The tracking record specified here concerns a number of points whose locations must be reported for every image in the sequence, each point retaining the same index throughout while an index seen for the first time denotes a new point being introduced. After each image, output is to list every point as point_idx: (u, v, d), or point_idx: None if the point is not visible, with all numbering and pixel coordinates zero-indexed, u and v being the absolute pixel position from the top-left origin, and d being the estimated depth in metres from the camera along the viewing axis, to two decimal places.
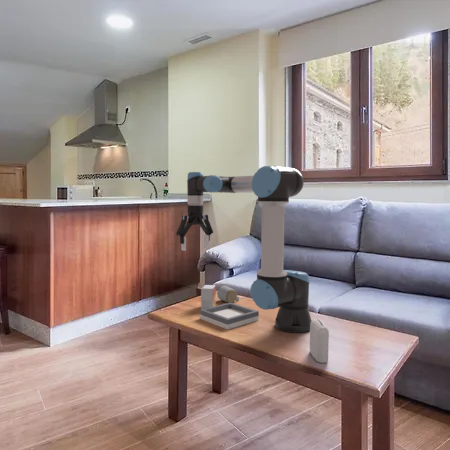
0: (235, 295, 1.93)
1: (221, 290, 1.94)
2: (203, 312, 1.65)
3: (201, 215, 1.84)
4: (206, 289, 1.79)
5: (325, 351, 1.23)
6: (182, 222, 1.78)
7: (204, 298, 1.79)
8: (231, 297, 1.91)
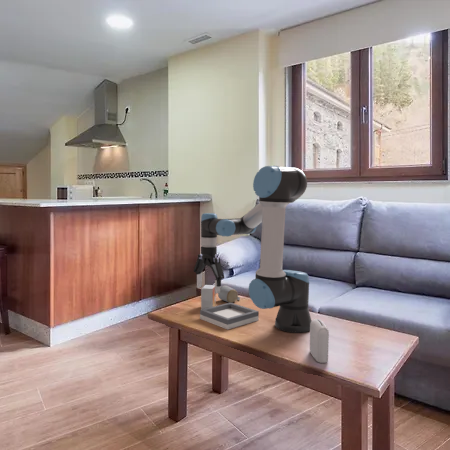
0: (236, 295, 1.93)
1: (222, 290, 1.94)
2: (203, 312, 1.65)
3: (210, 257, 1.78)
4: (206, 289, 1.79)
5: (325, 351, 1.23)
6: None
7: (204, 298, 1.79)
8: (232, 297, 1.92)
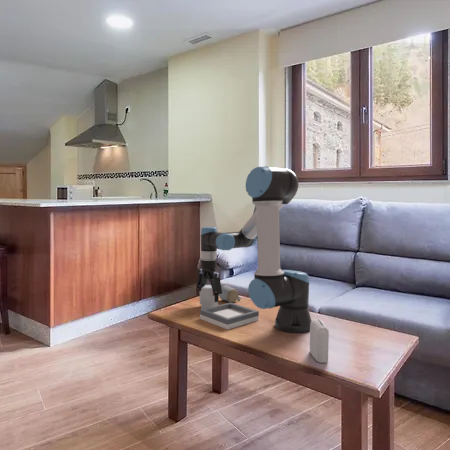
0: (236, 295, 1.93)
1: (222, 290, 1.94)
2: (203, 312, 1.65)
3: (211, 271, 1.79)
4: (206, 289, 1.79)
5: (325, 351, 1.23)
6: None
7: (204, 298, 1.79)
8: (233, 297, 1.92)
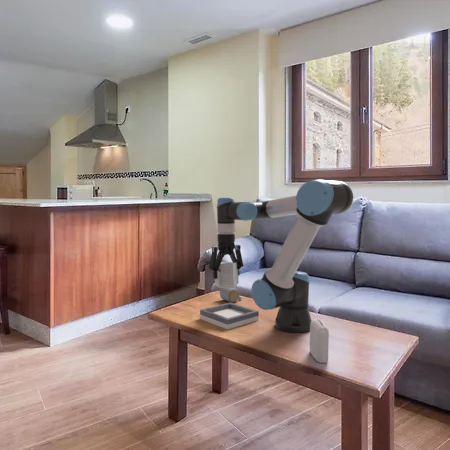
0: (237, 295, 1.94)
1: (224, 290, 1.95)
2: (203, 312, 1.65)
3: (233, 244, 1.67)
4: (234, 264, 1.66)
5: (325, 351, 1.23)
6: (213, 255, 1.63)
7: (234, 275, 1.65)
8: (234, 296, 1.92)
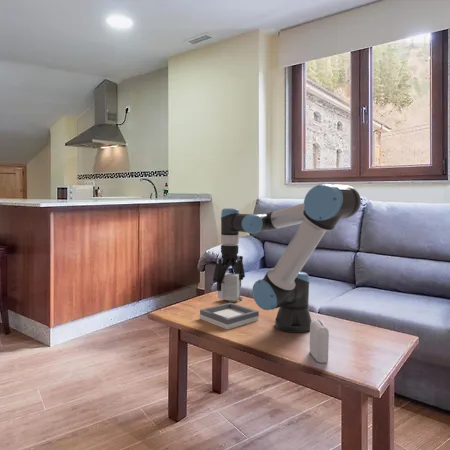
0: None
1: None
2: (203, 312, 1.65)
3: (236, 255, 1.66)
4: (237, 276, 1.64)
5: (325, 351, 1.23)
6: (217, 267, 1.60)
7: (237, 286, 1.63)
8: None
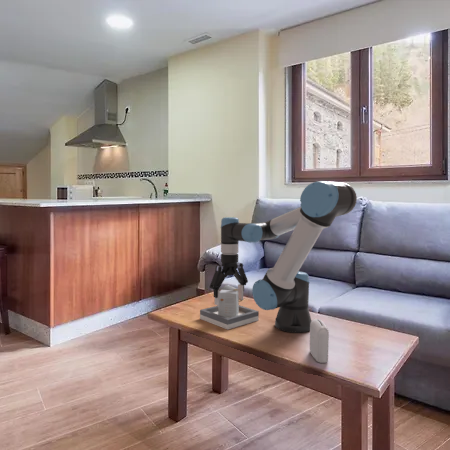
0: None
1: (225, 289, 1.95)
2: (203, 312, 1.65)
3: (236, 264, 1.66)
4: (237, 293, 1.64)
5: (325, 351, 1.23)
6: (216, 274, 1.60)
7: (236, 304, 1.63)
8: None
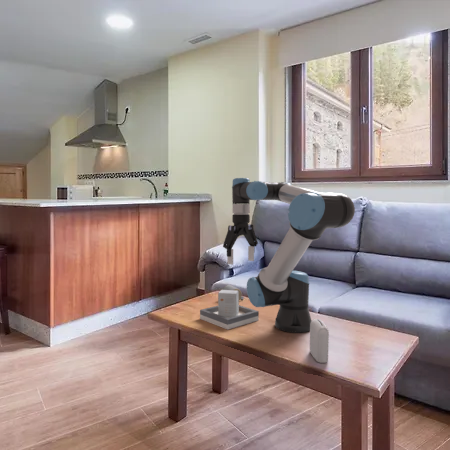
0: (240, 294, 1.94)
1: (226, 289, 1.95)
2: (203, 312, 1.65)
3: (247, 225, 1.68)
4: (237, 293, 1.64)
5: (325, 351, 1.23)
6: (229, 233, 1.62)
7: (236, 304, 1.63)
8: None
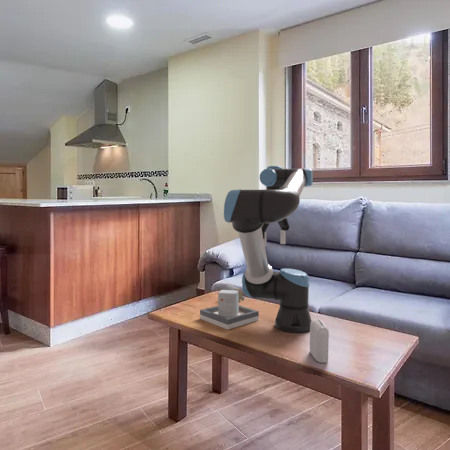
0: (240, 294, 1.95)
1: (227, 289, 1.96)
2: (203, 312, 1.65)
3: None
4: (237, 293, 1.64)
5: (325, 351, 1.23)
6: None
7: (236, 304, 1.63)
8: None
